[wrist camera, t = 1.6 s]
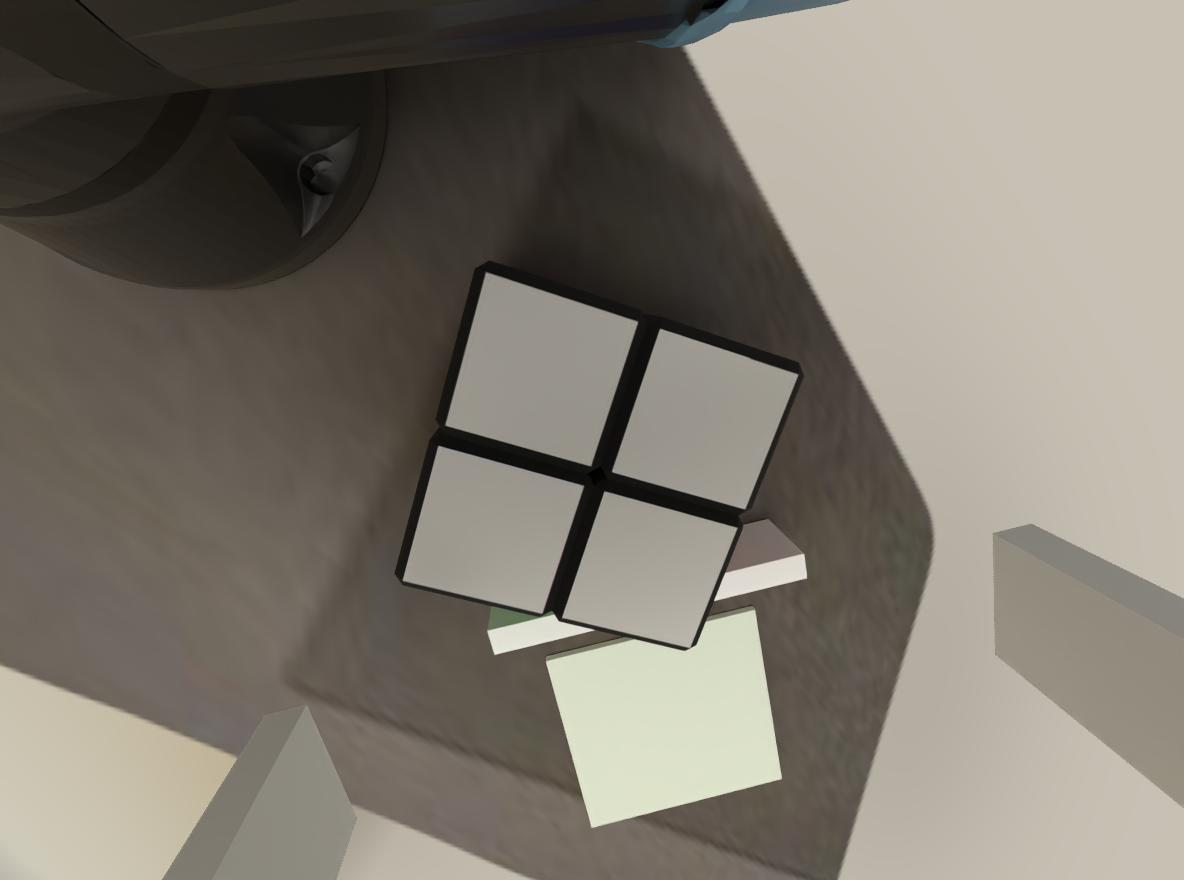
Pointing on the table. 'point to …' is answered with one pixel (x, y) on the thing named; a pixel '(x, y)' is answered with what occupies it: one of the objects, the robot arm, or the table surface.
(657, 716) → the pale green square
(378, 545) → the table surface
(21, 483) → the table surface
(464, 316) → the puzzle cube
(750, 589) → the white flat bar
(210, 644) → the table surface
